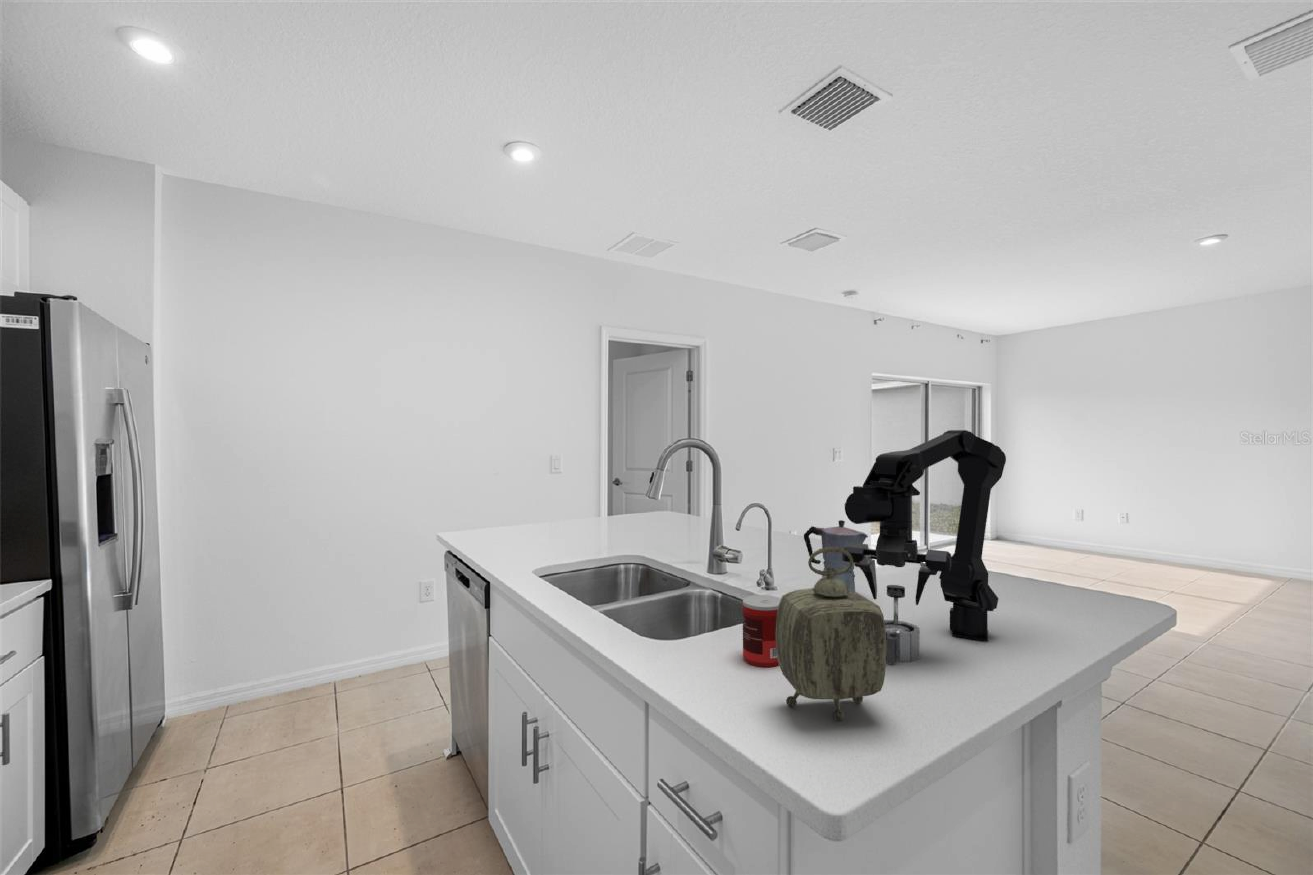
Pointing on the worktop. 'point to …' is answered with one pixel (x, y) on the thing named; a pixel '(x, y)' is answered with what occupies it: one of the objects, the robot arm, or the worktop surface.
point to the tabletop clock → (831, 640)
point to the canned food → (760, 630)
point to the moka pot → (837, 539)
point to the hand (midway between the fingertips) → (895, 601)
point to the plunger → (896, 607)
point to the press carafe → (902, 643)
